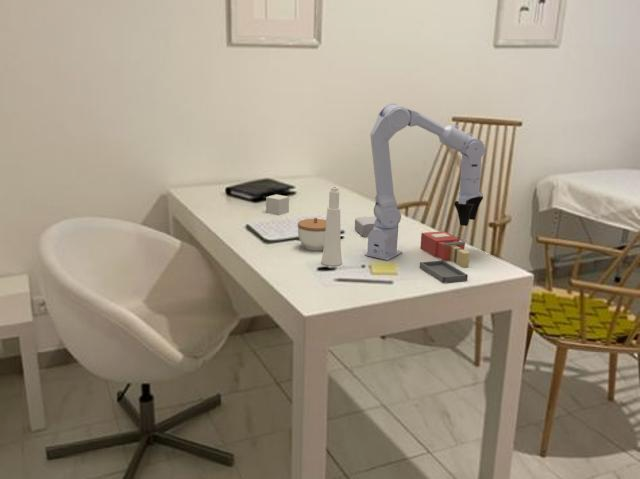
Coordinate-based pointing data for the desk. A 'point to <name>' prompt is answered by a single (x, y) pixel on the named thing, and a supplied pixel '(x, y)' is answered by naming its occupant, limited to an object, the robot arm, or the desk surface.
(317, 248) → the lidded jar
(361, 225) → the charger
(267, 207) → the light gray cube
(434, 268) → the ticket tray
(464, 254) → the wooden blocks
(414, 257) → the desk surface
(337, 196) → the cosmetic bottle
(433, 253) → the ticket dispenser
